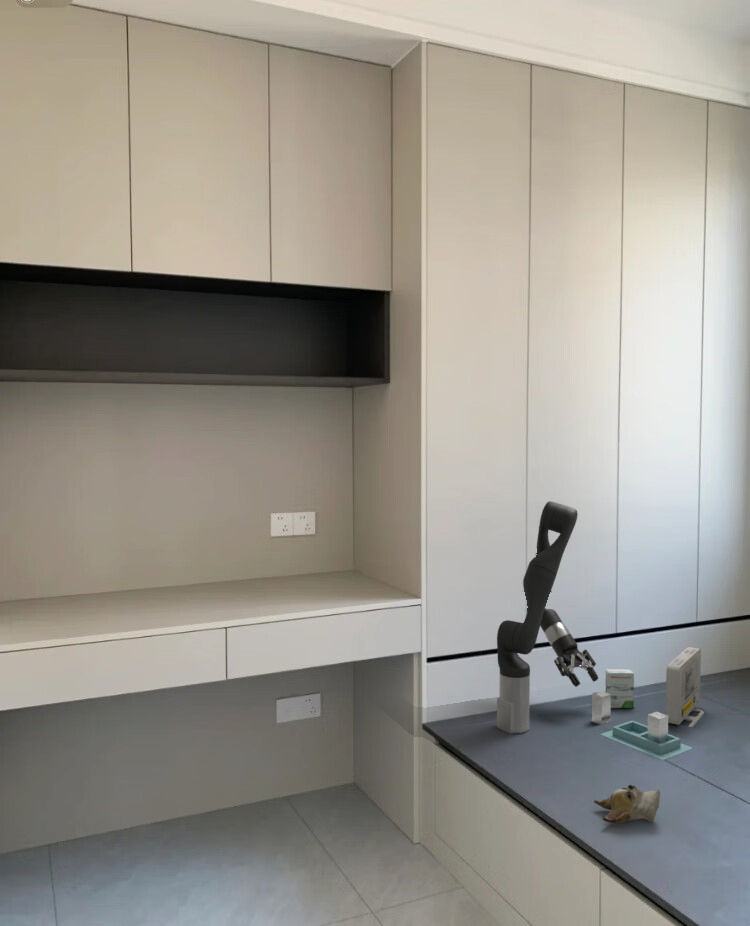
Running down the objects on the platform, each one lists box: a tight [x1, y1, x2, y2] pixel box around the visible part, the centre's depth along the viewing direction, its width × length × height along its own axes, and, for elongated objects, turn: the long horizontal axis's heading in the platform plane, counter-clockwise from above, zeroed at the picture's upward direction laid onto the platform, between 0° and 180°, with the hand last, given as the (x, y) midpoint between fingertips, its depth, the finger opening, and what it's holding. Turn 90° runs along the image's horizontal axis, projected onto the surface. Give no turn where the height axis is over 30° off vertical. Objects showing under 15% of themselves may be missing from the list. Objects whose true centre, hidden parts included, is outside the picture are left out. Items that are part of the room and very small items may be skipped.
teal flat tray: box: [600, 719, 694, 761], centre depth 245 cm, size 14×22×4 cm, turn 35°
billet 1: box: [591, 690, 612, 726], centre depth 263 cm, size 4×4×9 cm
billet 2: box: [647, 711, 669, 744], centre depth 241 cm, size 4×4×9 cm
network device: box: [665, 646, 705, 728], centre depth 266 cm, size 26×9×20 cm, turn 145°
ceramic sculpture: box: [593, 784, 661, 825], centre depth 202 cm, size 11×9×15 cm
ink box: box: [605, 668, 635, 709], centre depth 277 cm, size 9×5×12 cm, turn 84°
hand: (587, 682), depth 268 cm, fingers open, 8 cm apart
